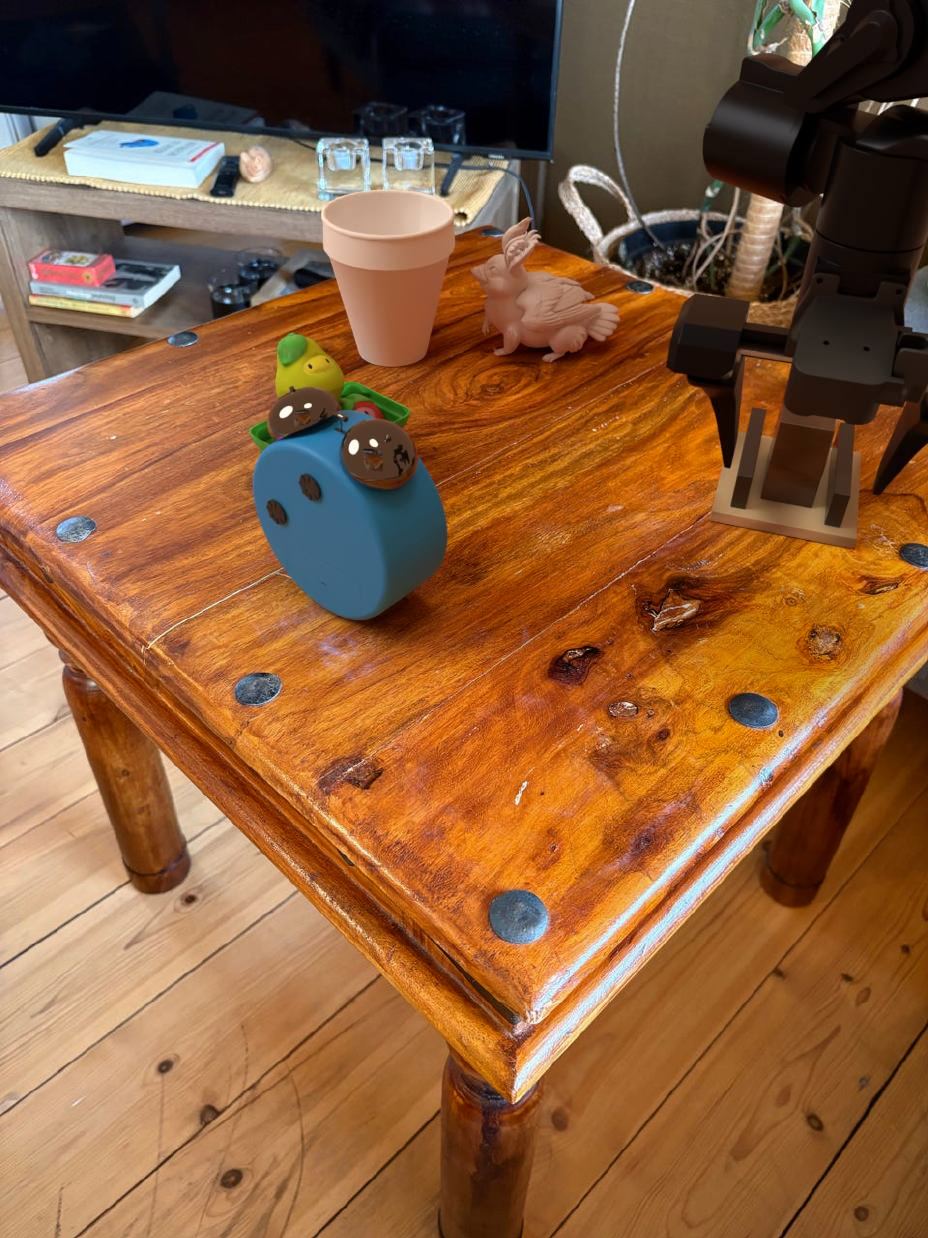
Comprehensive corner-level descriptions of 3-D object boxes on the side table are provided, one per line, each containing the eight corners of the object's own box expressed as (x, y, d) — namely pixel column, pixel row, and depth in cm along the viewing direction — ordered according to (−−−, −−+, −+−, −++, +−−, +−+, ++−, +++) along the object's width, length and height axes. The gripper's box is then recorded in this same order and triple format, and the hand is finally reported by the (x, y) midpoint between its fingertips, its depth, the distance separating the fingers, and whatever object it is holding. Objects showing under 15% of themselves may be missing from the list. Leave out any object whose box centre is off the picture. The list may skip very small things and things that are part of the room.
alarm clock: (450, 612, 70) (452, 424, 60) (389, 657, 66) (380, 466, 56) (322, 537, 76) (304, 356, 66) (260, 575, 72) (231, 390, 62)
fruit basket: (313, 521, 77) (299, 391, 70) (242, 477, 82) (222, 350, 74) (416, 464, 84) (414, 339, 76) (345, 426, 88) (337, 304, 81)
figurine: (463, 333, 102) (466, 208, 94) (604, 324, 104) (618, 201, 96) (477, 370, 96) (481, 240, 88) (626, 360, 98) (643, 232, 90)
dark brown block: (818, 463, 83) (841, 387, 78) (813, 508, 78) (837, 431, 73) (768, 454, 84) (787, 379, 79) (760, 498, 79) (780, 421, 74)
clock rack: (858, 462, 85) (871, 421, 82) (853, 549, 76) (868, 506, 73) (729, 439, 88) (738, 398, 85) (709, 520, 78) (718, 478, 76)
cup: (306, 360, 97) (292, 218, 88) (375, 313, 105) (369, 179, 96) (412, 392, 93) (409, 246, 84) (476, 341, 101) (479, 203, 92)
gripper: (671, 264, 50) (631, 519, 60) (1078, 320, 45) (960, 585, 56) (704, 193, 57) (664, 429, 68) (1052, 235, 53) (953, 480, 63)
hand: (800, 478), depth 63 cm, fingers open, 9 cm apart
